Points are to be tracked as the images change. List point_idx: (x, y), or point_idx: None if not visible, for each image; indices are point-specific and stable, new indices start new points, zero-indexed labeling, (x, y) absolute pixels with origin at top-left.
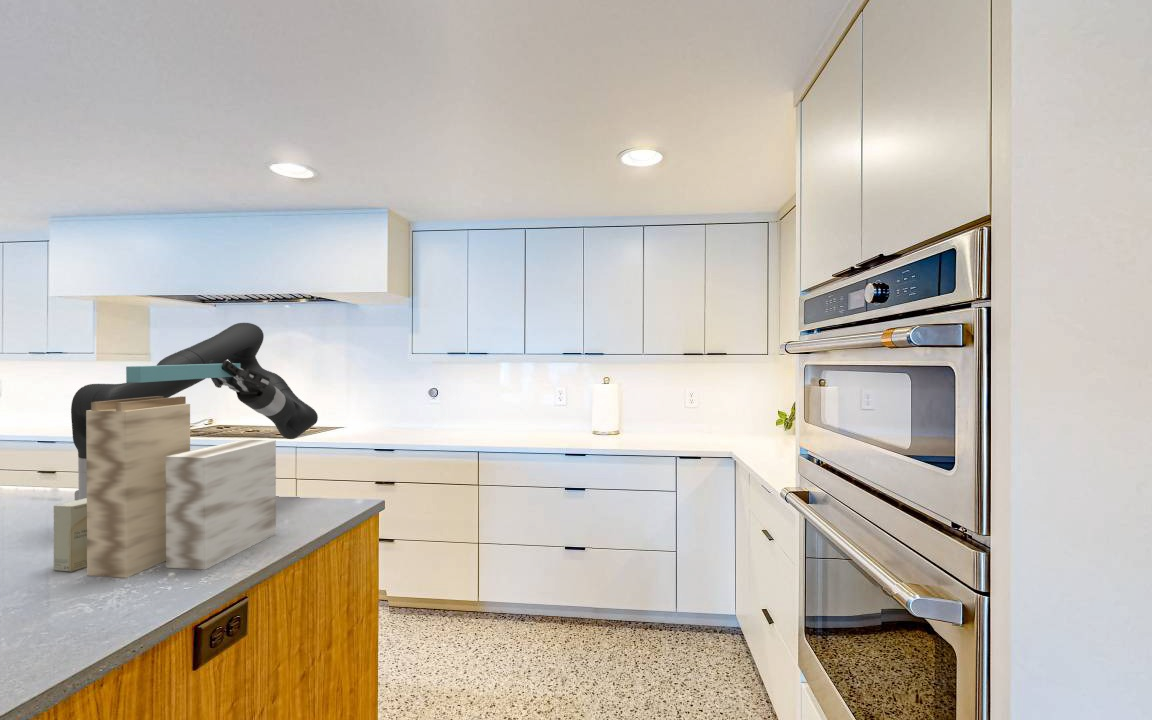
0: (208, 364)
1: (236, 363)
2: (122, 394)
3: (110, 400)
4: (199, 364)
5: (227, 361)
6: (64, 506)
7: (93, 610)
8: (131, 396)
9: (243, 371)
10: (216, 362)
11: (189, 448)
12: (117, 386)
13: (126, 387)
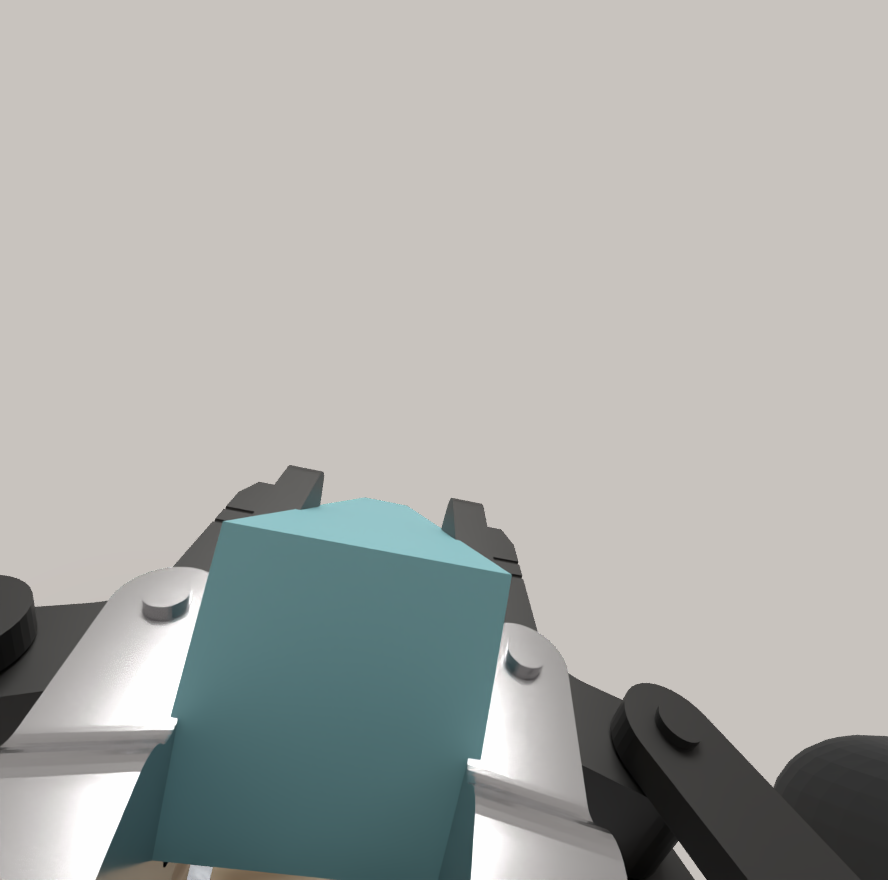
0: (342, 503)
1: (306, 532)
2: (834, 788)
3: (783, 780)
4: (390, 511)
5: (289, 474)
6: None
7: (194, 874)
8: (883, 845)
9: (68, 624)
10: (453, 521)
11: (213, 868)
12: (864, 741)
13: (884, 769)
